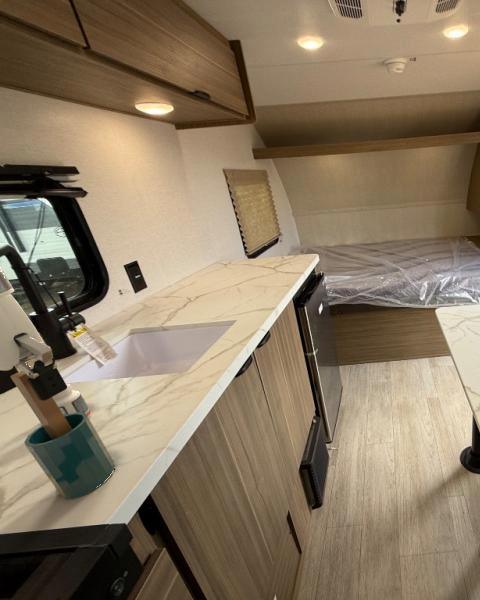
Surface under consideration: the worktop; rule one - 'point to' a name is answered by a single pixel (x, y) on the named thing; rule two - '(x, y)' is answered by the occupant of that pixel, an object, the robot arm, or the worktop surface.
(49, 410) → the brush
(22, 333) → the robot arm
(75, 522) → the worktop surface
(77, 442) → the teal handleless cup
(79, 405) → the pill bottle
